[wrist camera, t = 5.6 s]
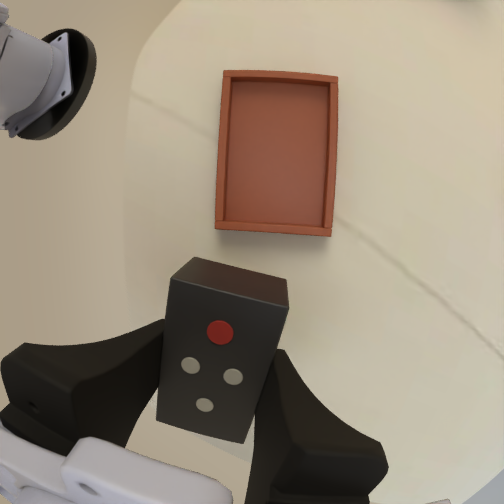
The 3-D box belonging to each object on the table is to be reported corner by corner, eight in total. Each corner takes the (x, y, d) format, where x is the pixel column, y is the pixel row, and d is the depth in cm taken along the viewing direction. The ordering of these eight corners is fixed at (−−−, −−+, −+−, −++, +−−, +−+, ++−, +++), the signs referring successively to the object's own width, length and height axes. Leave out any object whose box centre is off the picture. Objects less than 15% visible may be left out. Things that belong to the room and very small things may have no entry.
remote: (249, 403, 14) (243, 446, 11) (174, 383, 14) (155, 422, 11) (287, 278, 12) (290, 308, 9) (193, 255, 12) (169, 277, 9)
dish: (327, 233, 19) (331, 236, 18) (218, 226, 19) (214, 229, 18) (334, 82, 16) (338, 76, 15) (226, 76, 17) (223, 69, 16)
